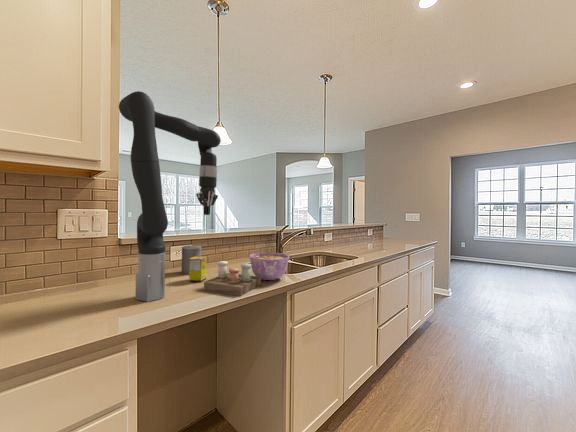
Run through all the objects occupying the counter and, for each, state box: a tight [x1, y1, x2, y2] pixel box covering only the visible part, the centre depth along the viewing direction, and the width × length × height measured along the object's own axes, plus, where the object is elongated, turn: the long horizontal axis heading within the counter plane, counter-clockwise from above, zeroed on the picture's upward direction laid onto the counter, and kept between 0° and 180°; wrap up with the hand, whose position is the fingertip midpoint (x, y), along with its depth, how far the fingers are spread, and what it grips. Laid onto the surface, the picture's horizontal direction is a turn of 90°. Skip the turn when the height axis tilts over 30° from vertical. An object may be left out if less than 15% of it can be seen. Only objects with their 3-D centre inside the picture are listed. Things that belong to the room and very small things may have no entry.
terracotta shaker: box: [228, 267, 240, 281], centre depth 121 cm, size 4×4×7 cm
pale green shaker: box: [240, 263, 252, 282], centre depth 119 cm, size 4×4×7 cm
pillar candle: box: [181, 244, 202, 275], centre depth 145 cm, size 10×10×15 cm
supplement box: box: [188, 256, 207, 283], centre depth 130 cm, size 6×6×11 cm
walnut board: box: [203, 272, 262, 297], centre depth 121 cm, size 18×18×4 cm
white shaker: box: [217, 260, 229, 279], centre depth 123 cm, size 4×4×7 cm
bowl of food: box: [249, 251, 290, 281], centre depth 137 cm, size 20×20×12 cm
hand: (206, 214), depth 124 cm, fingers closed
